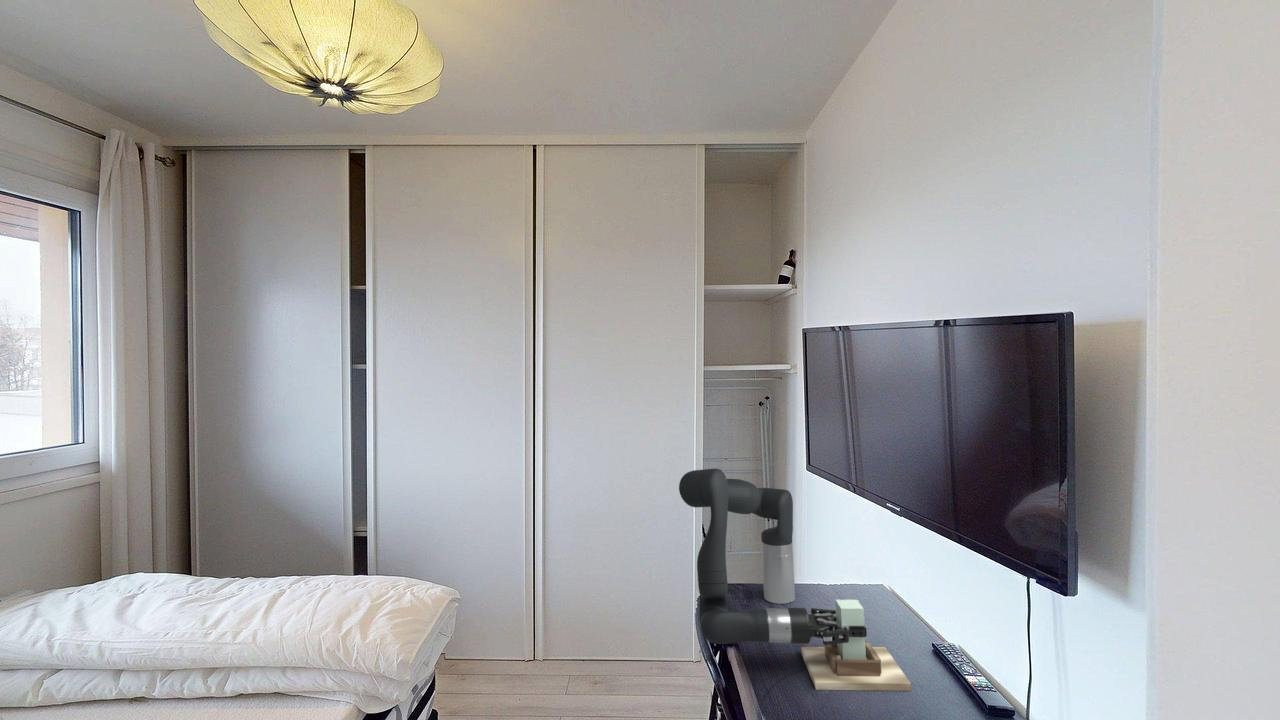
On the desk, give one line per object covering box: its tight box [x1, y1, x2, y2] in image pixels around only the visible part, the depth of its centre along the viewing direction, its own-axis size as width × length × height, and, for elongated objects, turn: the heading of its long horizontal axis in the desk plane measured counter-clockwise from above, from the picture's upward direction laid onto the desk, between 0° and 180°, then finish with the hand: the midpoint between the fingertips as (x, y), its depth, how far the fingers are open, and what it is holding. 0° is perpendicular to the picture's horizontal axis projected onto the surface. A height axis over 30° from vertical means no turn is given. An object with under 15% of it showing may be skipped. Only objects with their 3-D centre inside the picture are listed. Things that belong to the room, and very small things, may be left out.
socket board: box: [800, 640, 912, 692], centre depth 129 cm, size 16×20×4 cm
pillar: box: [834, 599, 866, 660], centre depth 129 cm, size 5×5×12 cm
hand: (861, 625), depth 129 cm, fingers closed on pillar, 5 cm apart
